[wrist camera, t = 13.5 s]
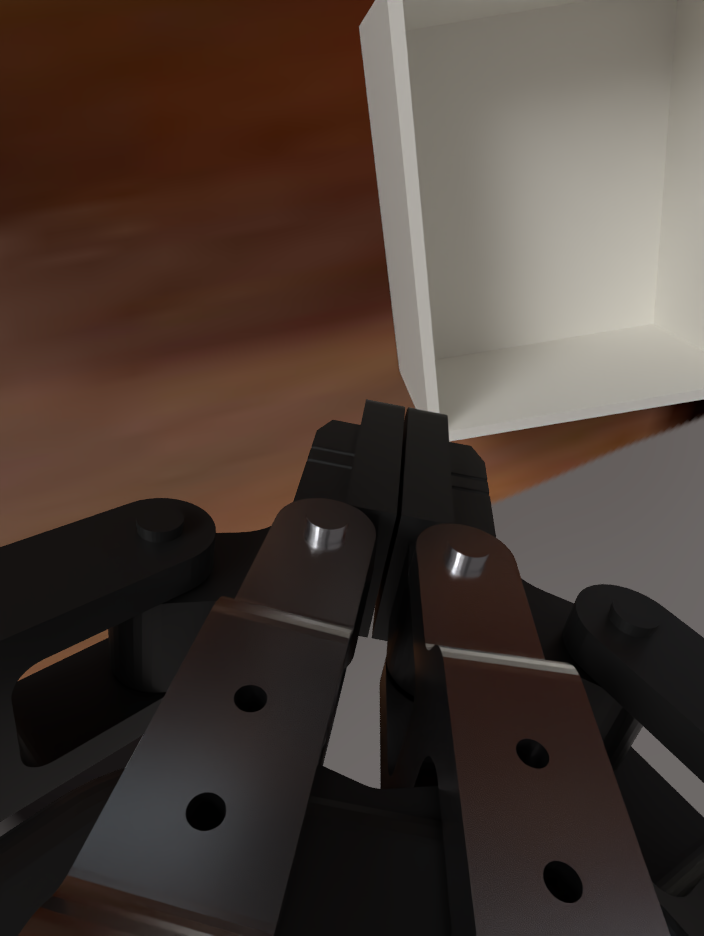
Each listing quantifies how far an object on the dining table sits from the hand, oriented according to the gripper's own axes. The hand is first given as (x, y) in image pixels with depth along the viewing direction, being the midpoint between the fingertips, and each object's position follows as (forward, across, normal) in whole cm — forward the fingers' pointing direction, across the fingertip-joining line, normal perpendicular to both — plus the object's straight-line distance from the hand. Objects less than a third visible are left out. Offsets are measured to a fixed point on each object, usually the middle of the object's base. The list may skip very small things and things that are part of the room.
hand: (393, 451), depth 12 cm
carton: (+34, -6, -1) cm, 34 cm away
